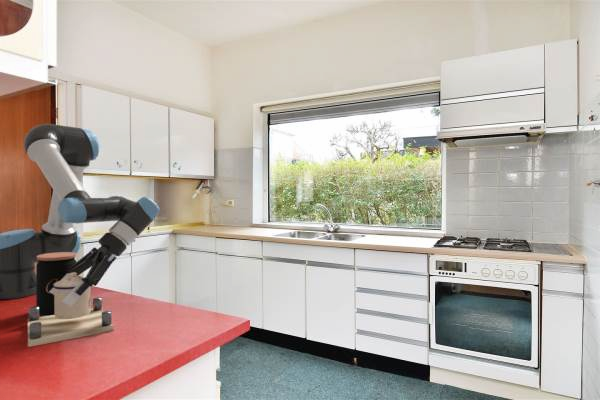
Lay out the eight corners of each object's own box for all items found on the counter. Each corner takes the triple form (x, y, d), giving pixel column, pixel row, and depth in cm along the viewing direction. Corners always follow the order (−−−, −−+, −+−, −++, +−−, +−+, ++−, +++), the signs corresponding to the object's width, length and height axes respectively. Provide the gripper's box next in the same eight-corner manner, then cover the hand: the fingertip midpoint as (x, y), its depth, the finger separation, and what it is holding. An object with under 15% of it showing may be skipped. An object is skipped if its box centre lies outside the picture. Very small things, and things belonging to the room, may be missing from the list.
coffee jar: (43, 318, 110) (43, 259, 109) (31, 311, 116) (31, 254, 116) (82, 310, 118) (82, 254, 118) (68, 303, 125) (68, 251, 124)
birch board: (27, 324, 105) (27, 319, 105) (102, 312, 117) (102, 307, 117) (27, 347, 90) (28, 340, 90) (113, 330, 101) (113, 325, 101)
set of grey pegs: (29, 319, 105) (29, 307, 105) (101, 307, 116) (101, 296, 116) (29, 340, 90) (29, 326, 90) (112, 325, 101) (112, 312, 101)
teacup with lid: (97, 313, 103) (97, 272, 103) (62, 322, 96) (62, 278, 96) (78, 305, 110) (77, 267, 110) (43, 313, 103) (43, 272, 103)
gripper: (143, 251, 106) (84, 316, 95) (112, 243, 122) (58, 297, 111) (124, 234, 102) (60, 300, 91) (94, 228, 118) (37, 283, 107)
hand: (59, 299), depth 101 cm, fingers closed on teacup with lid, 12 cm apart
